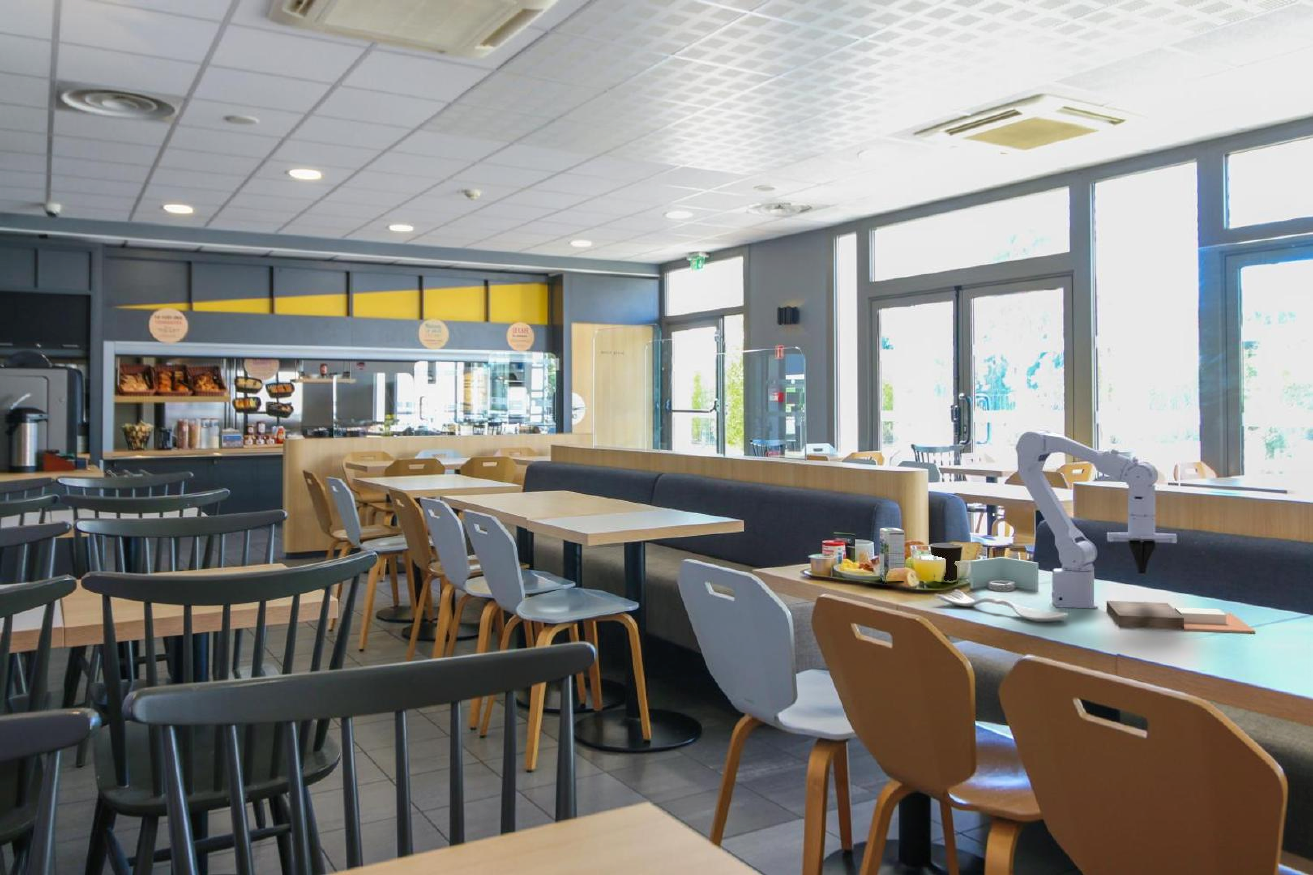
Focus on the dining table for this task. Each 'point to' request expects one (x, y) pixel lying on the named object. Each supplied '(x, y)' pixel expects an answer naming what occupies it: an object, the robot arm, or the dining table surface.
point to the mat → (1220, 626)
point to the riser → (1145, 615)
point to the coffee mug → (948, 557)
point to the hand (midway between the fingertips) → (1141, 572)
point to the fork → (1025, 612)
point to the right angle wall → (1004, 574)
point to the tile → (1202, 615)
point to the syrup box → (891, 550)
